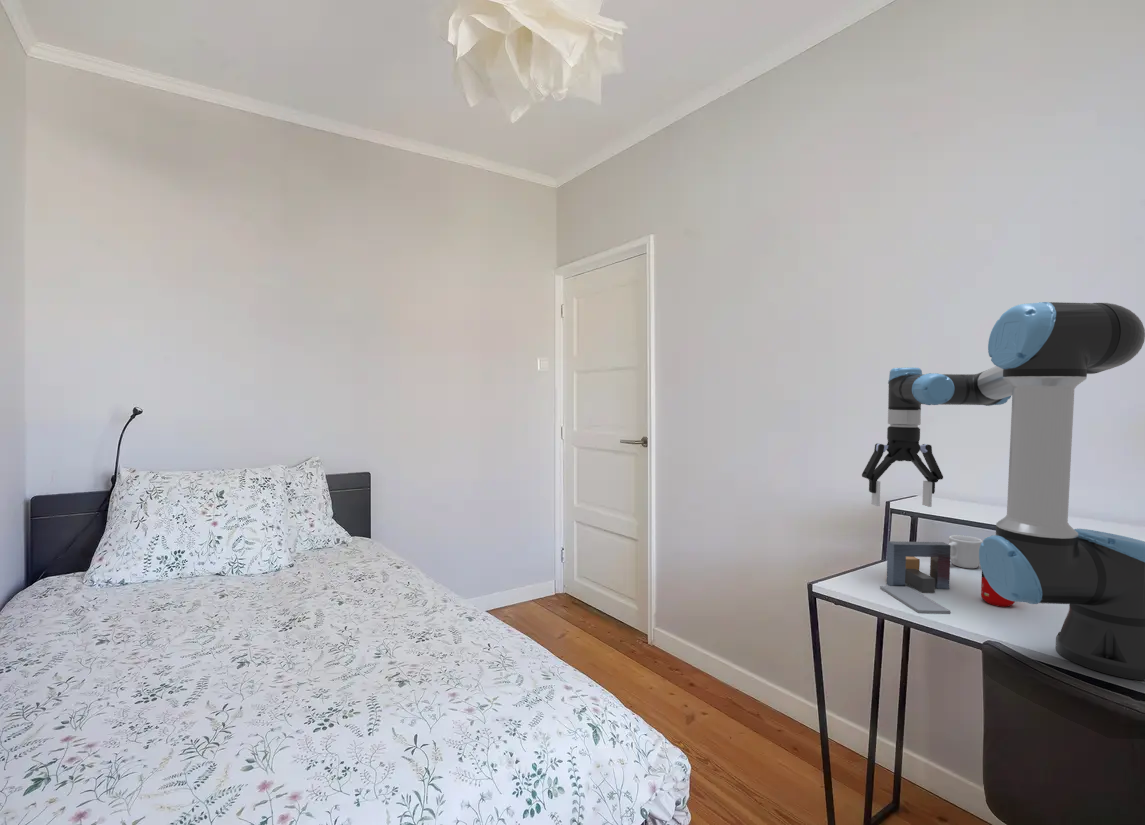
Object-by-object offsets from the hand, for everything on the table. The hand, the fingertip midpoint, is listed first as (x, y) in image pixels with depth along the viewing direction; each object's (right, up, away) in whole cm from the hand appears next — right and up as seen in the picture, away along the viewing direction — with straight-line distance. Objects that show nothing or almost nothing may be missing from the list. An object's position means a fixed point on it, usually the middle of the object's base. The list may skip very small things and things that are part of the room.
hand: (901, 505), depth 150 cm
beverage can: (+12, -20, -19) cm, 30 cm away
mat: (-7, -19, -18) cm, 27 cm away
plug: (0, -19, -6) cm, 20 cm away
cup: (+23, -19, +10) cm, 32 cm away
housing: (0, -19, -8) cm, 21 cm away
